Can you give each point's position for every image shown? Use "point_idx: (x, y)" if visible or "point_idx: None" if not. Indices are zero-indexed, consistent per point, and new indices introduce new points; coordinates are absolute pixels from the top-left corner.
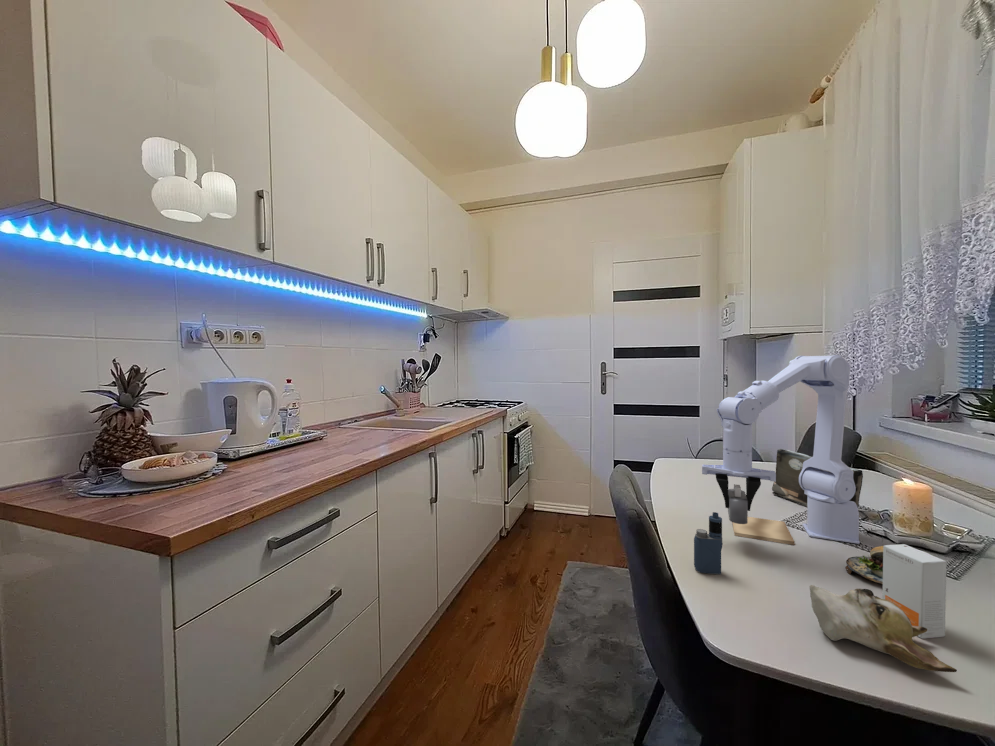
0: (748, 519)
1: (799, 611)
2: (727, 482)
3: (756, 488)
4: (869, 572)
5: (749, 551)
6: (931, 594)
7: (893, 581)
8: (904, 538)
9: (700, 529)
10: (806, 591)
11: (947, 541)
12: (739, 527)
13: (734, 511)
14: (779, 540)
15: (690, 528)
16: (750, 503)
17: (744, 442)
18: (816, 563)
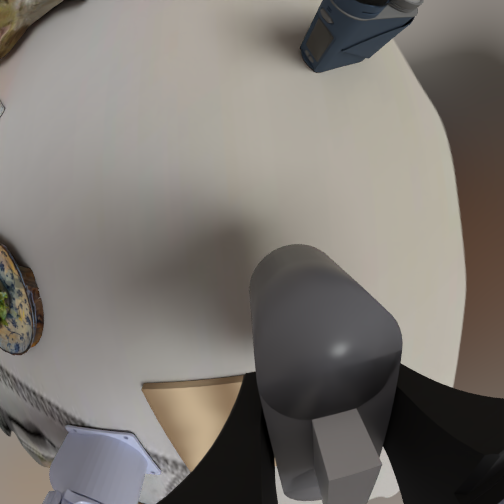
0: None
1: (123, 2)
2: (485, 446)
3: (176, 501)
4: (11, 293)
5: (242, 272)
6: None
7: None
8: (49, 453)
9: (415, 2)
10: (94, 94)
11: (26, 450)
12: None
13: (334, 267)
14: (175, 386)
15: (407, 336)
16: (239, 401)
17: None
18: (82, 294)
